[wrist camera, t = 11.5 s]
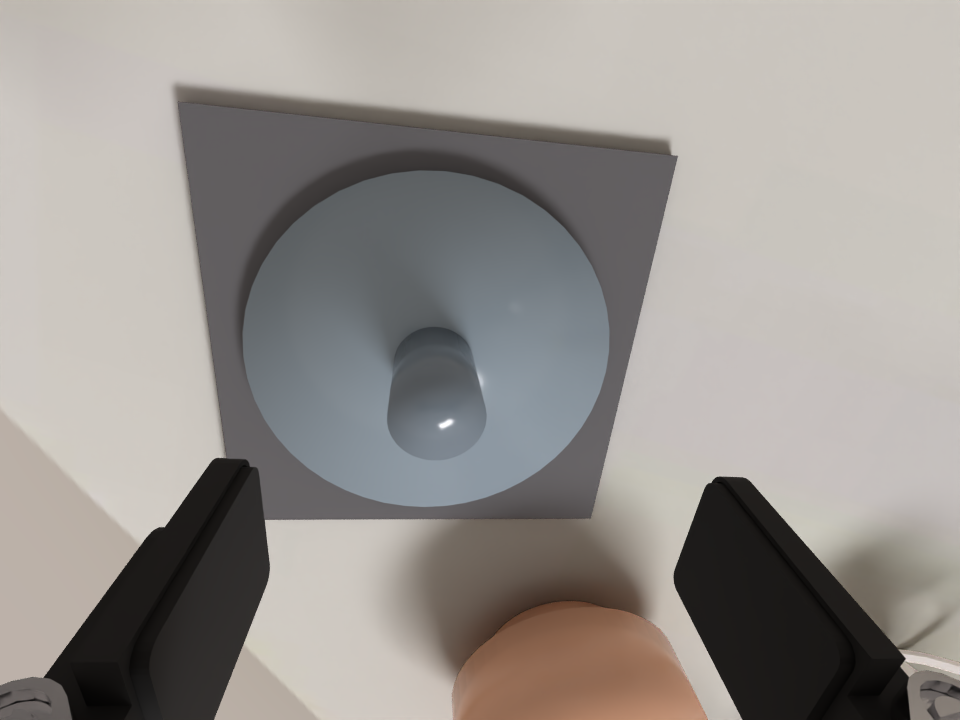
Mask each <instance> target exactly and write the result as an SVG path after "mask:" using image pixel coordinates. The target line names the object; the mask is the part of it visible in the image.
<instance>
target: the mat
mask: <svg viewBox="0 0 960 720" xmlns="http://www.w3.org/2000/svg"><path fill="white" fill-rule="evenodd" d="M178 107H179V114H180V122H181V129H182V136H183V144H184V151H185V158H186V165H187V173H188V180H189V187H190V194H191V202H192V209H193V216H194V224H195V231H196V238H197V245H198V253H199V260H200V267H201V274H202V282H203V289H204V296H205V304H206V311H207V318H208V325H209V333H210V340H211V347H212V354H213V362H214V369H215V376H216V383H217V391H218V398H219V405H220V413H221V420H222V427H223V434H224V442H225V449H226V456H227V458H228V459H246V460H248V462H249V464H250V467H257V468H258V471H259V477H260V486H261V494H262V503H263V511H264V520H314V519H586V518H591V516H592V512H593V507H594V503H595V499H596V495H597V491H598V487H599V482H600V478H601V474H602V470H603V466H604V462H605V457H606V453H607V449H608V445H609V441H610V436H611V432H612V428H613V424H614V420H615V416H616V411H617V407H618V403H619V399H620V395H621V391H622V386H623V382H624V378H625V374H626V370H627V366H628V361H629V357H630V353H631V349H632V345H633V341H634V336H635V332H636V328H637V324H638V320H639V316H640V311H641V307H642V303H643V299H644V295H645V291H646V286H647V282H648V278H649V274H650V270H651V266H652V261H653V257H654V253H655V249H656V245H657V241H658V236H659V232H660V228H661V224H662V220H663V216H664V211H665V207H666V203H667V199H668V195H669V191H670V186H671V182H672V178H673V174H674V170H675V166H676V161H677V157H678V156H673V155H663V154H654V153H645V152H636V151H627V150H617V149H608V148H599V147H590V146H581V145H572V144H562V143H553V142H544V141H535V140H526V139H516V138H507V137H498V136H489V135H480V134H470V133H461V132H452V131H443V130H434V129H424V128H415V127H406V126H397V125H388V124H379V123H369V122H360V121H351V120H342V119H333V118H323V117H314V116H305V115H296V114H287V113H277V112H268V111H259V110H250V109H241V108H231V107H222V106H213V105H204V104H195V103H186V102H178ZM414 170H438V171H450V172H456V173H462V174H468V175H473V176H476V177H479V178H483V179H486V180H489V181H492V182H495V183H498V184H500V185H502V186H504V187H506V188H508V189H510V190H513V191H515V192H517V193H519V194H521V195H523V196H524V197H526V198H527V199H529V200H530V201H532V202H533V203H535V204H536V205H538V206H539V207H541V208H542V209H544V210H545V211H547V212H548V213H549V214H550V215H551V216H552V217H553V218H554V219H555V220H557V221H558V222H559V223H560V224H561V225H562V226H563V227H564V228H565V229H566V230H567V231H568V233H569V234H570V235H571V236H572V237H573V239H574V240H575V241H576V242H577V243H578V245H579V246H580V247H581V249H582V251H583V252H584V254H585V255H586V257H587V259H588V260H589V262H590V264H591V265H592V267H593V270H594V272H595V274H596V277H597V279H598V281H599V283H600V286H601V289H602V293H603V296H604V300H605V304H606V307H607V314H608V322H609V355H608V361H607V368H606V373H605V377H604V380H603V383H602V387H601V390H600V393H599V395H598V397H597V400H596V402H595V404H594V407H593V409H592V411H591V412H590V414H589V416H588V417H587V419H586V421H585V423H584V424H583V426H582V428H581V429H580V430H579V431H578V433H577V434H576V435H575V437H574V438H573V439H572V440H571V442H570V443H569V444H568V445H567V446H566V447H565V448H564V449H563V450H562V451H561V452H560V453H559V454H558V455H557V456H556V457H555V458H554V459H553V460H552V461H551V462H549V463H548V464H547V465H546V466H544V467H543V468H542V469H541V470H539V471H538V472H536V473H535V474H533V475H532V476H530V477H529V478H527V479H525V480H524V481H522V482H520V483H518V484H516V485H514V486H512V487H510V488H508V489H506V490H504V491H502V492H499V493H496V494H494V495H491V496H488V497H486V498H482V499H478V500H474V501H471V502H467V503H461V504H455V505H448V506H434V507H416V506H402V505H396V504H389V503H383V502H380V501H376V500H372V499H368V498H365V497H362V496H359V495H357V494H354V493H351V492H349V491H346V490H344V489H342V488H340V487H338V486H336V485H334V484H332V483H330V482H328V481H327V480H325V479H323V478H322V477H320V476H319V475H317V474H316V473H314V472H313V471H311V470H310V469H309V468H307V467H306V466H305V465H304V464H303V463H301V462H300V461H299V460H298V459H297V458H296V457H295V456H293V455H292V454H291V453H290V452H289V451H288V449H287V448H286V447H285V446H284V445H283V444H282V443H281V442H280V441H279V439H278V438H277V437H276V436H275V434H274V433H273V431H272V430H271V428H270V427H269V425H268V424H267V423H266V421H265V420H264V418H263V416H262V414H261V412H260V410H259V408H258V406H257V404H256V402H255V400H254V397H253V394H252V391H251V388H250V385H249V382H248V379H247V374H246V368H245V363H244V358H243V325H244V317H245V309H246V305H247V302H248V298H249V295H250V291H251V288H252V285H253V283H254V281H255V278H256V276H257V274H258V272H259V270H260V267H261V265H262V263H263V262H264V260H265V259H266V257H267V256H268V254H269V253H270V251H271V249H272V248H273V246H274V245H275V243H276V242H277V241H278V240H279V239H280V238H281V236H282V235H283V234H284V233H285V232H286V231H287V230H288V229H289V228H290V226H291V225H292V224H293V223H294V222H295V221H297V220H298V219H299V218H300V217H301V216H303V215H304V214H305V213H306V212H308V211H309V210H310V209H311V208H312V207H314V206H315V205H317V204H318V203H320V202H322V201H323V200H325V199H327V198H328V197H330V196H332V195H333V194H335V193H337V192H338V191H340V190H342V189H345V188H347V187H349V186H352V185H354V184H356V183H359V182H361V181H364V180H366V179H370V178H374V177H378V176H382V175H386V174H390V173H396V172H405V171H414Z"/></svg>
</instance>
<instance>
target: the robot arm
mask: <svg viewBox="0 0 960 720" xmlns="http://www.w3.org/2000/svg"><path fill="white" fill-rule="evenodd" d="M269 571H270V563H269V555H268V546H267V537H266V529H265V520H264V511H263V503H262V494H261V486H260V477H259V471H258V468H257V467H250V464H249V462H248V460H246V459H228V458H216V459H214V460H213V461H212V462H211V463H210V464H209V466H208V467H207V469H206V470H205V471H204V473H203V474H202V476H201V477H200V478H199V480H198V481H197V483H196V484H195V485H194V487H193V488H192V490H191V491H190V493H189V494H188V495H187V497H186V498H185V500H184V501H183V502H182V504H181V505H180V507H179V508H178V510H177V511H176V512H175V514H174V515H173V517H172V518H171V519H170V521H169V522H168V524H167V525H166V526H165V527H159V528H157V529H155V530H153V531H152V532H151V533H150V534H149V535H148V537H147V538H146V539H145V540H144V542H143V543H142V544H141V546H140V547H139V548H138V550H137V551H136V553H135V554H134V555H133V557H132V558H131V560H130V561H129V562H128V563H127V565H126V566H125V568H124V569H123V570H122V572H121V573H120V574H119V576H118V577H117V579H116V580H115V581H114V582H113V584H112V585H111V587H110V588H109V589H108V591H107V592H106V594H105V595H104V596H103V597H102V599H101V600H100V602H99V603H98V604H97V606H96V607H95V609H94V610H93V611H92V612H91V614H90V615H89V617H88V618H87V619H86V621H85V622H84V623H83V625H82V626H81V628H80V629H79V630H78V632H77V633H76V634H75V636H74V637H73V638H72V640H71V641H70V642H69V644H68V645H67V646H66V648H65V649H64V650H63V652H62V654H61V655H60V656H59V657H58V659H57V660H56V661H55V663H54V664H53V666H52V667H51V668H50V670H49V671H48V672H47V674H46V675H45V676H44V678H37V677H30V678H25V679H20V680H15V681H11V682H8V683H5V684H3V685H0V720H214V718H215V715H216V713H217V710H218V708H219V705H220V702H221V700H222V698H223V695H224V692H225V690H226V687H227V685H228V682H229V680H230V677H231V675H232V672H233V669H234V667H235V664H236V662H237V659H238V657H239V654H240V651H241V649H242V647H243V644H244V641H245V639H246V636H247V634H248V631H249V629H250V626H251V624H252V621H253V618H254V616H255V613H256V611H257V608H258V606H259V603H260V601H261V598H262V596H263V593H264V590H265V588H266V585H267V582H268V578H269ZM674 584H675V588H676V590H677V592H678V594H679V596H680V598H681V600H682V602H683V604H684V606H685V608H686V610H687V612H688V614H689V616H690V618H691V620H692V622H693V624H694V626H695V628H696V629H697V631H698V633H699V635H700V637H701V639H702V641H703V643H704V645H705V647H706V649H707V651H708V653H709V655H710V657H711V659H712V661H713V663H714V665H715V667H716V669H717V671H718V673H719V675H720V677H721V679H722V680H723V682H724V684H725V686H726V688H727V690H728V692H729V694H730V696H731V698H732V700H733V702H734V704H735V706H736V708H737V710H738V712H739V714H740V716H741V718H742V720H960V681H959V680H956V679H954V678H952V677H949V676H947V675H944V674H942V673H937V672H932V671H918V672H915V673H914V674H912V675H911V676H910V677H909V676H908V675H907V674H906V673H905V672H904V671H903V669H902V668H901V667H900V666H901V665H902V664H903V662H904V661H905V659H906V658H905V657H904V656H903V655H902V653H901V652H900V651H899V650H898V649H897V648H896V647H895V645H894V644H893V643H892V642H891V641H890V640H889V639H888V638H887V636H886V635H885V634H884V633H883V632H882V631H881V630H880V628H879V627H878V626H877V625H876V624H875V623H874V622H873V620H872V619H871V618H870V617H869V616H868V615H867V614H866V613H865V611H864V610H863V609H862V608H861V607H860V606H859V605H858V603H857V602H856V601H855V600H854V599H853V598H852V597H851V595H850V594H849V593H848V592H847V591H846V590H845V589H844V588H843V586H842V585H841V584H840V583H839V582H838V581H837V580H836V578H835V577H834V576H833V575H832V574H831V573H830V572H829V570H828V569H827V568H826V567H825V566H824V565H823V564H822V563H821V561H820V560H819V559H818V558H817V557H816V556H815V555H814V553H813V552H812V551H811V550H810V549H809V548H808V547H807V546H806V544H805V543H804V542H803V541H802V540H801V539H800V538H799V536H798V535H797V534H796V533H795V532H794V531H793V530H792V528H791V527H790V526H789V525H788V524H787V523H786V522H785V521H784V519H783V518H782V517H781V516H780V515H779V514H778V513H777V511H776V510H775V509H774V508H773V507H772V506H771V505H770V503H769V502H768V501H767V500H766V499H765V498H764V497H763V496H762V494H761V493H760V492H759V491H758V490H757V489H756V488H755V486H754V485H753V484H752V483H751V482H750V481H749V480H748V479H746V478H743V477H716V478H715V479H714V480H713V481H712V483H709V484H707V485H706V487H705V489H704V492H703V494H702V497H701V500H700V502H699V505H698V508H697V511H696V513H695V516H694V519H693V521H692V524H691V527H690V530H689V532H688V535H687V538H686V540H685V543H684V546H683V549H682V551H681V554H680V557H679V560H678V562H677V565H676V568H675V571H674Z"/></svg>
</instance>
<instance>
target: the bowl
mask: <svg viewBox="0 0 960 720" xmlns="http://www.w3.org/2000/svg"><path fill="white" fill-rule="evenodd" d="M452 711H453V720H708V719H707V716H706V714H705V712H704V710H703V708H702V706H701V704H700V702H699V700H698V698H697V696H696V694H695V692H694V690H693V688H692V686H691V684H690V682H689V680H688V678H687V676H686V674H685V672H684V670H683V668H682V666H681V664H680V662H679V660H678V658H677V656H676V654H675V652H674V650H673V648H672V646H671V644H670V642H669V640H668V639H667V637H666V636H665V635H664V633H663V632H662V631H661V630H660V629H659V628H658V627H656V626H655V625H654V624H653V623H651V622H650V621H648V620H646V619H644V618H642V617H640V616H638V615H635V614H632V613H630V612H626V611H622V610H617V609H611V608H603V607H600V606H598V605H595V604H591V603H587V602H580V601H559V602H552V603H547V604H543V605H540V606H537V607H534V608H531V609H529V610H526V611H524V612H522V613H520V614H519V615H517V616H515V617H513V618H512V619H511V620H509V621H508V622H507V623H505V624H504V625H503V626H502V627H501V628H500V629H499V630H498V631H497V632H496V634H495V635H494V636H493V637H492V638H491V639H489V640H488V641H487V642H485V643H484V644H483V645H481V646H480V647H479V648H478V649H477V650H476V651H475V652H474V653H473V654H472V655H471V656H470V658H469V659H468V660H467V661H466V662H465V664H464V665H463V667H462V668H461V670H460V672H459V673H458V676H457V678H456V680H455V683H454V687H453V692H452Z"/></svg>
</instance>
